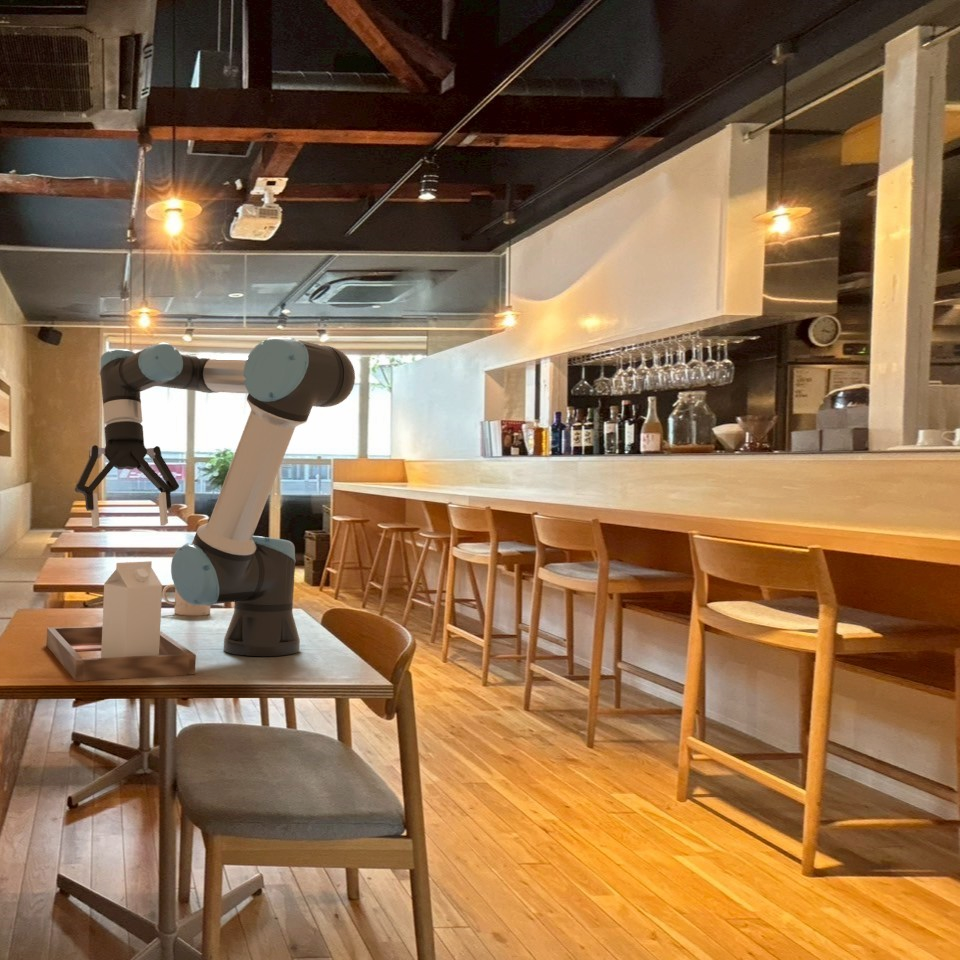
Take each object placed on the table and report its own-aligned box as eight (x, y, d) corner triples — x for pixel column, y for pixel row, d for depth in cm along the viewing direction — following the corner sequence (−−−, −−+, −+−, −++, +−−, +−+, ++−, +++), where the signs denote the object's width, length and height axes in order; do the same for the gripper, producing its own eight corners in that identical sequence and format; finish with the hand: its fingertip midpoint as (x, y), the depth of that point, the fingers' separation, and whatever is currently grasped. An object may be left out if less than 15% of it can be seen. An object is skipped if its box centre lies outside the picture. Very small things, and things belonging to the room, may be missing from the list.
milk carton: (100, 668, 182) (104, 561, 182) (134, 663, 188) (139, 559, 188) (123, 674, 178) (128, 564, 178) (158, 669, 183) (163, 563, 183)
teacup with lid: (205, 610, 262) (207, 564, 262) (215, 615, 254) (217, 568, 254) (157, 611, 256) (159, 565, 256) (165, 617, 248) (168, 568, 248)
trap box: (149, 641, 213) (150, 624, 213) (195, 674, 182) (195, 654, 182) (46, 645, 203) (47, 627, 203) (75, 681, 172) (76, 660, 172)
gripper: (177, 431, 222) (185, 527, 218) (55, 428, 209) (61, 531, 204) (188, 421, 216) (197, 519, 212) (63, 417, 203) (69, 523, 198)
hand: (130, 525), depth 208 cm, fingers open, 13 cm apart
